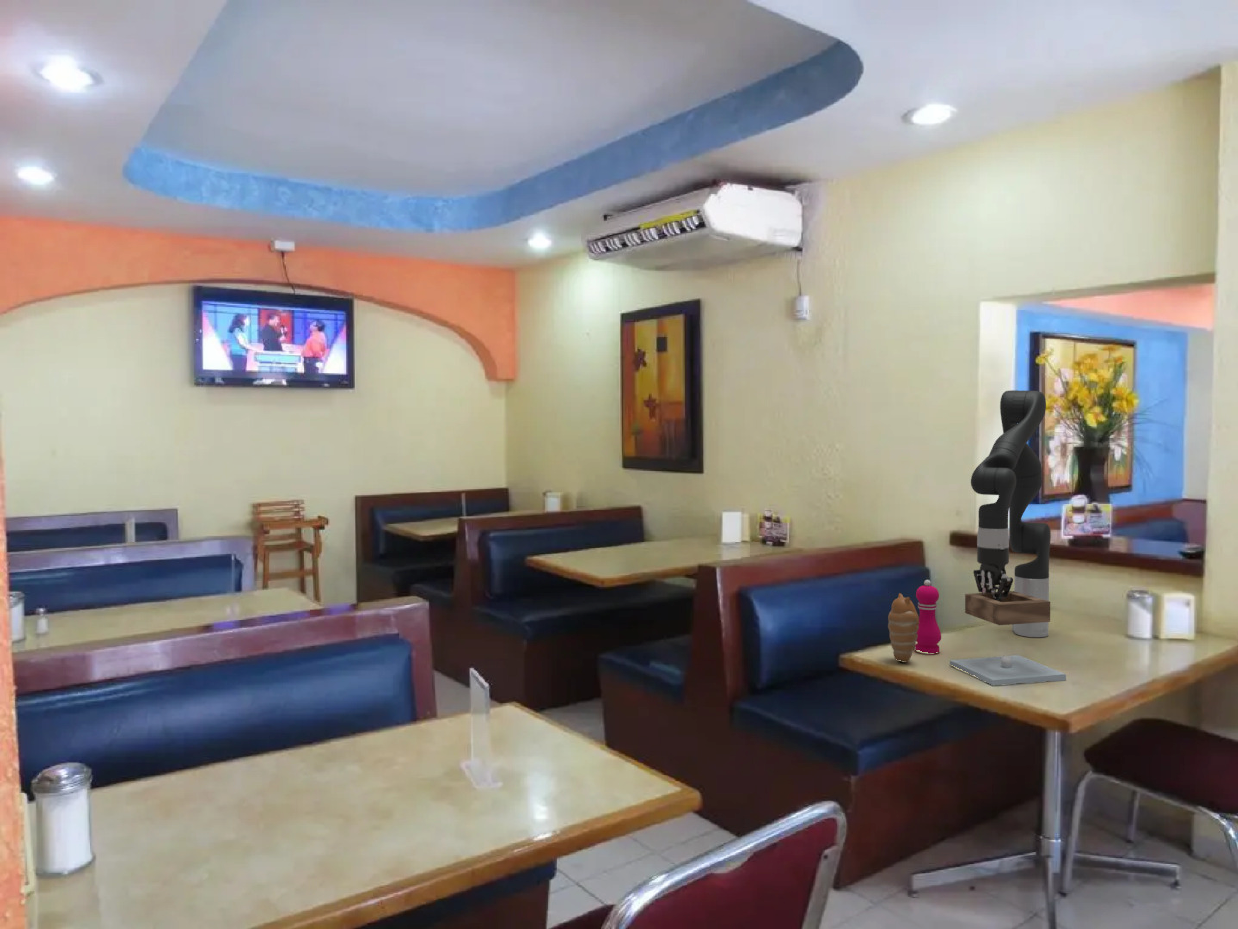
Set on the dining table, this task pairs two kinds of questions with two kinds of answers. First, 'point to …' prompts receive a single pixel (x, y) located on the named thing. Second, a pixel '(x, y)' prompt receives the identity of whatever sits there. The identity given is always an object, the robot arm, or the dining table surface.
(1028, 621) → the frame
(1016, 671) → the peg board
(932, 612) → the pepper mill
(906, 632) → the cat ice cream
